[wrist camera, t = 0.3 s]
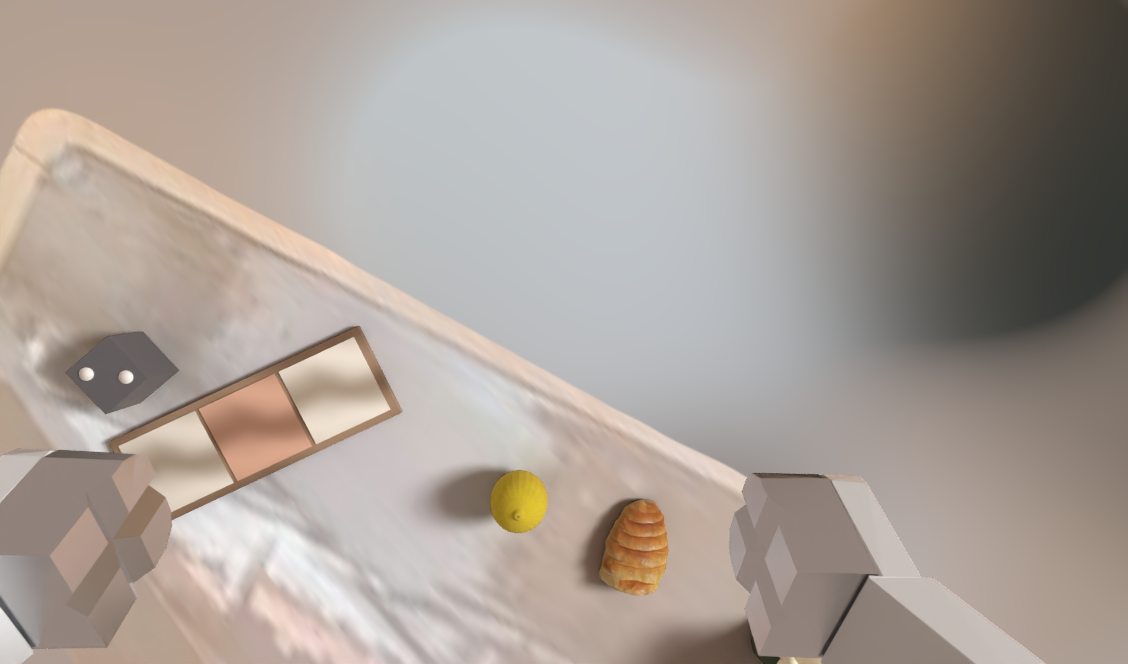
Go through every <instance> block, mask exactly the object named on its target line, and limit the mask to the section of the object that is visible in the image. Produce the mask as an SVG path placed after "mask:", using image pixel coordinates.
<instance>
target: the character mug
mask: <svg viewBox="0 0 1128 664" xmlns="http://www.w3.org/2000/svg"><path fill="white" fill-rule="evenodd" d="M751 642H752V647H753V651H754V653H755V654H756V655H757V656H758V658H759V659H760V660H761V662H762V663H763V664H822V663H821V662H820V661H821V659H822V658H799V657H774V656H759V655H758V652H757V649H756V645H755V642H754V639H753V635H752V638H751Z"/></svg>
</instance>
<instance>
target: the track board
mask: <svg viewBox="0 0 1128 664" xmlns="http://www.w3.org/2000/svg"><path fill="white" fill-rule="evenodd" d="M401 412H402V410H401V408H400V406H399V404H398V402H397V400H396V398H395V396H394V394H393V392H392V390H391V388H390V386H389V384H388V382H387V380H386V378H385V376H384V374H383V372H382V370H381V368H380V366H379V364H378V362H377V360H376V358H375V356H374V354H373V352H372V350H371V348H370V346H369V344H368V342H367V340H366V338H365V336H364V334H363V332H362V330H361V328H360V326H358V327H356V328H353V329H351V330H349V331H347V332H345V333H343V334H341V335H338V336H336V337H334V338H332V339H330V340H328V341H325V342H323V343H321V344H319V345H317V346H315V347H313V348H310V349H308V350H306V351H304V352H302V353H300V354H297V355H295V356H293V357H291V358H289V359H287V360H285V361H282V362H280V363H278V364H276V365H274V366H272V367H269V368H267V369H265V370H263V371H261V372H259V373H257V374H254V375H252V376H250V377H248V378H246V379H244V380H241V381H239V382H237V383H235V384H233V385H231V386H229V387H226V388H224V389H222V390H220V391H218V392H216V393H214V394H211V395H209V396H207V397H205V398H203V399H201V400H198V401H196V402H194V403H192V404H190V405H188V406H186V407H183V408H181V409H179V410H177V411H175V412H173V413H170V414H168V415H166V416H164V417H162V418H160V419H158V420H155V421H153V422H151V423H149V424H147V425H145V426H142V427H140V428H138V429H136V430H134V431H132V432H130V433H127V434H125V435H123V436H121V437H119V438H117V439H114V440H112V441H110V442H109V444H110V446H111V447H112V449H113V451H114V453H125V454H138V455H142V456H147V457H148V459H149V461H150V463H151V465H152V467H153V469H154V471H155V473H156V475H155V477H154V478H153V480H152V481H151V483H150V484H149V486H151V487H152V488H154V489H155V490H156V491H158V492H159V493H161V494H162V495H163V496H165V497H166V499H167V502H168V504H169V507H170V509H171V520H173V519H175V518H177V517H179V516H182V515H184V514H186V513H188V512H190V511H192V510H194V509H196V508H199V507H201V506H203V505H205V504H207V503H209V502H211V501H214V500H216V499H218V498H220V497H222V496H224V495H226V494H229V493H231V492H233V491H235V490H237V489H239V488H241V487H244V486H246V485H248V484H250V483H252V482H254V481H256V480H258V479H261V478H263V477H265V476H267V475H269V474H271V473H273V472H276V471H278V470H280V469H282V468H284V467H286V466H288V465H291V464H293V463H295V462H297V461H299V460H301V459H303V458H306V457H308V456H310V455H312V454H314V453H316V452H318V451H320V450H323V449H325V448H327V447H329V446H331V445H333V444H335V443H338V442H340V441H342V440H344V439H346V438H348V437H350V436H353V435H355V434H357V433H359V432H361V431H363V430H365V429H368V428H370V427H372V426H374V425H376V424H378V423H380V422H383V421H385V420H387V419H389V418H391V417H393V416H395V415H397V414H400V413H401Z"/></svg>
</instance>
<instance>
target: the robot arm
mask: <svg viewBox="0 0 1128 664" xmlns="http://www.w3.org/2000/svg"><path fill="white" fill-rule="evenodd" d="M155 475H156V473H155V471H154V469H153V467H152V465H151V463H150V461H149V459H148V457H147V456H142V455H138V454H125V453H107V452H89V451H71V450H41V449H22V448H18V449H16V450H13V451H11V452H8V453H6V454H4V455H2V456H1V457H0V664H21V663H22V662H23V661H25V659H27V658H28V657H29V656H31V655H32V654H33V652H34V651H33V650H32V649H47V648H48V649H55V648H107V646H108V645H109V643H110V641H111V640H112V638H113V636H114V635H115V633H116V632H117V630H118V628H119V627H120V625H121V623H122V622H123V620H124V618H125V617H126V615H127V613H128V612H129V610H130V608H131V607H132V605H133V603H134V602H135V600H136V593H135V588H134V582H135V581H136V580H138V579H139V578H141V577H142V576H144V575H145V574H146V573H148V572H149V571H151V570H152V569H153V568H155V567H156V565H157V563H158V561H159V559H160V558H161V556H162V554H163V552H164V551H165V549H166V546H167V542H168V539H169V535H170V531H171V527H172V522H171V509H170V507H169V504H168V502H167V499H166V497H165V496H163V495H162V494H161V493H159V492H158V491H156V490H155V489H154V488H152V487H151V486H149V484H150V483H151V481H152V480H153V478H154V477H155ZM742 493H743V496H744V499H745V502H746V505H745V506H743V507H742V508H741V509H739V510H738V511H736V512H735V513H734V517H733V520H732V524H731V527H730V541H729V549H730V556H731V563H732V567H733V570H734V574H735V578H736V580H737V581H738V582H739V583H740V584H741V585H742V586H743V587H744V588H745V589H746V590H747V591H748V592H749V593H750V596H749V599H748V601H747V604H746V607H745V612H746V615H747V619H748V622H749V625H750V629H751V632H752V635H753V639H754V642H755V645H756V649H757V652H758V655H759V656H774V657H799V658H822V659H821V661H820V662H821V663H822V664H1045V663H1044V662H1043V661H1042V660H1040V659H1039V658H1037V657H1036V656H1035V655H1034V654H1032V653H1031V652H1030V651H1028V650H1027V649H1026V648H1024V647H1023V646H1022V645H1021V644H1019V643H1018V642H1017V641H1015V640H1014V639H1013V638H1011V637H1010V636H1009V635H1007V634H1006V633H1005V632H1003V631H1002V630H1001V629H1000V628H998V627H997V626H996V625H994V624H993V623H992V622H990V621H989V620H988V619H986V618H985V617H984V616H982V615H981V614H980V613H979V612H977V611H976V610H975V609H973V608H972V607H971V606H969V605H968V604H967V603H965V602H964V601H963V600H961V599H960V598H959V597H958V596H956V595H955V594H954V593H952V592H951V591H950V590H948V589H947V588H946V587H944V586H943V585H942V584H940V583H939V582H938V581H936V580H935V579H934V578H933V577H921V575H920V574H919V572H918V570H917V569H916V567H915V565H914V563H913V562H912V560H911V558H910V557H909V555H908V553H907V551H906V550H905V548H904V546H903V545H902V543H901V541H900V539H899V538H898V536H897V534H896V533H895V531H894V529H893V527H892V526H891V524H890V522H889V520H888V519H887V517H886V515H885V514H884V512H883V510H882V508H881V507H880V505H879V503H878V502H877V500H876V498H875V496H874V495H873V493H872V491H871V490H870V488H869V486H868V484H867V483H866V482H865V480H863V479H862V478H861V477H860V476H858V475H818V474H782V473H781V474H780V473H752V474H751V475H750V476H749V477H748V478H747V479H746V481H745V484H744V487H743V490H742Z"/></svg>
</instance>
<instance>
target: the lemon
mask: <svg viewBox="0 0 1128 664" xmlns="http://www.w3.org/2000/svg"><path fill="white" fill-rule="evenodd" d="M547 503H548V497H547V492H546V489H545V487H544V485H543V483H542V482H541V480H540V479H539V478H538V477H537V476H535V475H534V474H532V473H530V472H527V471H522V470H517V471H512V472H509V473H507V474H505V475H504V476H502V477H501V478H500V479H499V480H498V481H497V482H496V484H495V486H494V488H493V490H492V493H491V498H490V506H491V511H492V514H493V517H494V518H495V520H496V522H497V523H498V524H499V525H500V526H501V527H502V528H503V529H505V530H507V531H509V532H513V533H523V532H527V531H530V530H531V529H533V528H535V527H536V526H537V525H538V524H539V523H540V522H541V520H542V519H543V517H544V515H545V512H546V509H547Z"/></svg>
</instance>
